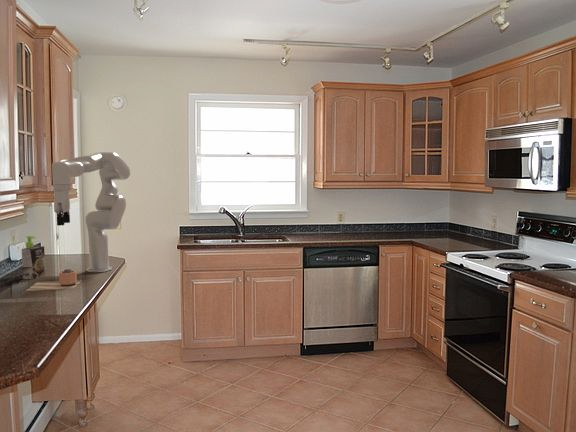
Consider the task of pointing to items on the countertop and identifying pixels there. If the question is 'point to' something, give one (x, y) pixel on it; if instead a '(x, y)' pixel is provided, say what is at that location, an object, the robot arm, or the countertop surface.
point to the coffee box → (33, 262)
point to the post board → (53, 284)
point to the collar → (68, 277)
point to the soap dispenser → (29, 241)
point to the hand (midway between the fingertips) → (63, 224)
